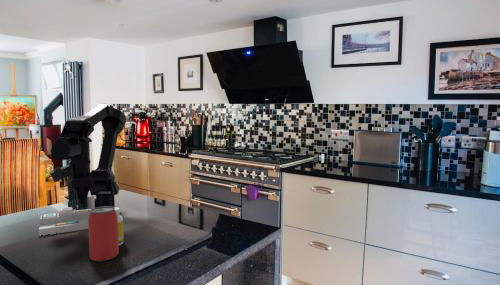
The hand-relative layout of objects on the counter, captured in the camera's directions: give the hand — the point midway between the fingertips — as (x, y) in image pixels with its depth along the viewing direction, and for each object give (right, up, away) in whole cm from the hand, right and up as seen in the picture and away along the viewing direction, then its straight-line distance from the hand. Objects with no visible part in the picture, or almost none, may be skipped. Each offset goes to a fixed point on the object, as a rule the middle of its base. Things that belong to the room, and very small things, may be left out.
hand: (81, 204), depth 108 cm
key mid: (-4, -3, -2) cm, 5 cm away
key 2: (0, -4, 0) cm, 4 cm away
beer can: (+19, -8, -27) cm, 34 cm away
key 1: (-8, -5, -4) cm, 10 cm away
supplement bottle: (+18, -8, -18) cm, 27 cm away
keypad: (-4, -7, -2) cm, 8 cm away
